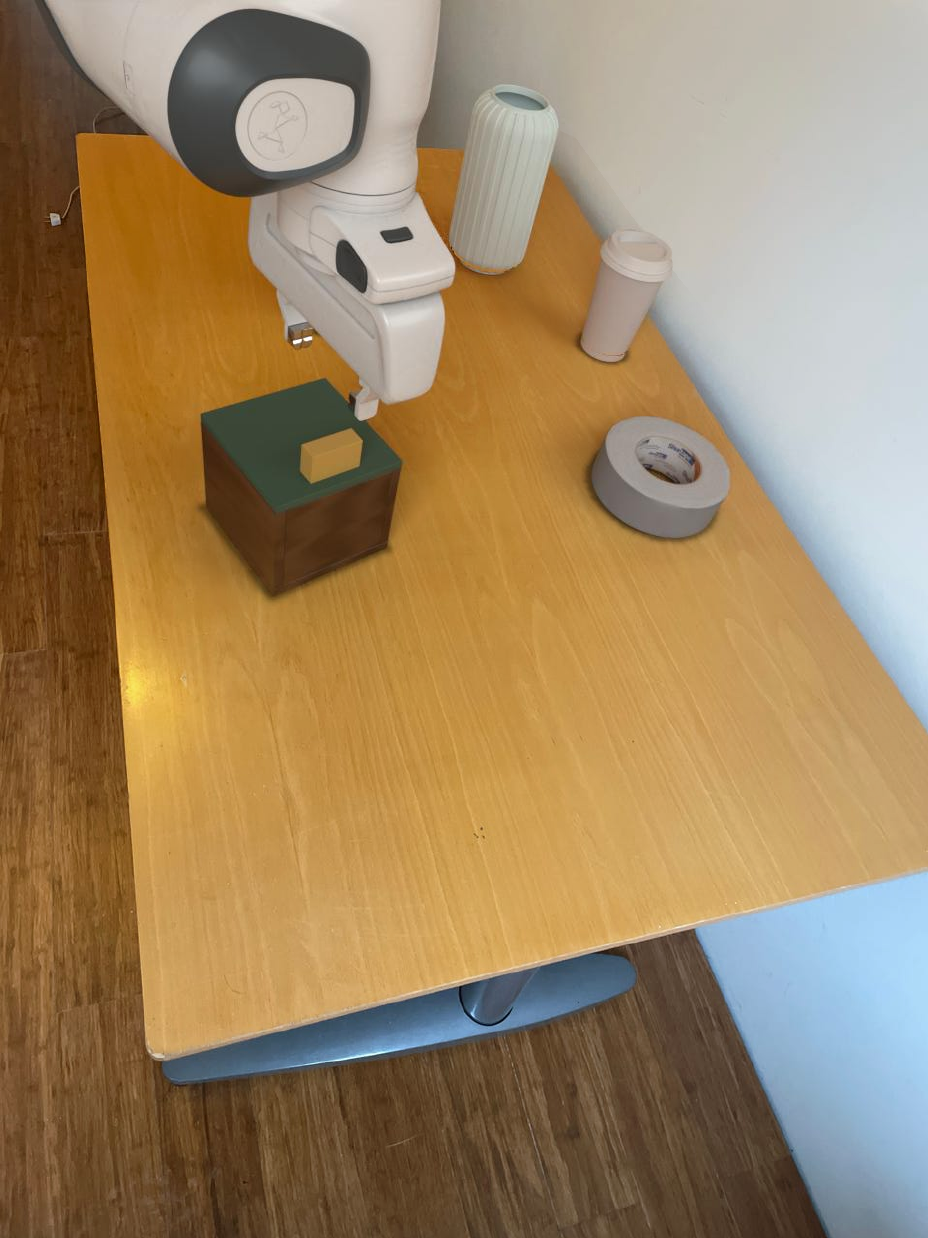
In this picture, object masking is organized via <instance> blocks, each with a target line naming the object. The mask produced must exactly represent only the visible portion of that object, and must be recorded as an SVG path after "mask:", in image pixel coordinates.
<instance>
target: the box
mask: <svg viewBox="0 0 928 1238" xmlns="http://www.w3.org/2000/svg"><path fill="white" fill-rule="evenodd" d="M200 432H201V433H200V434H201V449H202V463H203V476H204V477H203V479H204V493H205V508H206V509H207V511H208V512H209V513H210V515H211V516H212V518H213V519H214V520H215V521H216V523H217V524H218V526H220V528H221V529H222V530H223V532H224V533H225V535H226V536H227V537H228V538H229V540H230V541H231V542H232V544H233V545H234V546H235V548H236V549H237V550H238V552H239V553H240V555H241V556H242V557H243V559H244V560H245V561H246V562H247V564H248V566H249V567H251V569H252V570H253V572H254V573H255V574H256V575H257V577H258V579H260V581H261V582H262V583H263V585H264V586H265V587H266V589H267V590H268V591H269V593H270V594H271V595H272V597H275V596H278V595H280V594H283V593H285V592H287V591H290V590H293V589H295V588H296V587H299V586H302V585H304V584H306V583H308V582H311V581H313V580H316V579H317V578H320V577H323V576H325V575H327V574H329V573H332V572H333V571H337V570H338V569H341V568H343V567H346V566H348V565H350V564H353V563H355V562H357V561H359V560H361V559H365V558H366V557H368V556H371V555H374V554H377V553H378V552H380V551H383V550H385V549H387V546H388V541H389V535H390V530H391V525H392V520H393V515H394V514H393V513H394V509H395V503H396V498H397V493H398V489H399V488H398V487H399V482H400V477H401V471H402V467H401V468H398V469H396V470H393V471H390V472H388V473H385V474H382V475H380V476H377V477H374V478H371V479H369V480H366V481H363V482H361V483H358V484H355V485H353V486H350V487H347V488H345V489H342V490H339V491H337V492H334V493H331V494H329V495H326V496H323V497H321V498H318V499H315V500H313V501H310V502H307V503H305V504H302V505H299V506H296V507H294V508H291V509H288V510H286V511H283V512H280V513H278V514H276V513H275V512H274V511H273V510H272V508H271V507H270V506H269V505H268V503H267V502H266V501H265V500H264V498H263V497H262V496H261V495H260V493H259V492H258V491H257V490H256V488H255V487H254V486H253V485H252V483H251V482H250V481H249V480H248V478H247V477H246V476H245V475H244V474H243V472H242V471H241V470H240V469H239V467H238V466H237V465H236V464H235V462H234V461H233V460H232V459H231V457H230V456H229V455H228V454H227V452H226V451H225V450H224V449H223V447H222V446H221V445H220V444H219V442H218V441H217V440H216V439H215V437H214V436H213V435H212V434H211V432H210V431H209V430H208V429H207V427H206V426H205V425H204V424H203V423H202V421H201V420H200Z"/></svg>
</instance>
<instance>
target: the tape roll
mask: <svg viewBox="0 0 928 1238" xmlns="http://www.w3.org/2000/svg"><path fill="white" fill-rule="evenodd" d="M594 459H595V460H594V462H593V464H592V466H591V467H592V468H591V473H590V474H591V475H590V477H591V484H592V487H593V490H594V492H595V494H596V496H597V498H598V499H599V501H600V502H601V503H602V505H603V506H604V507H605V508H606V509H607V510H608V511H609V513H611V514H612V515H613V516H615V517H616V518H617V519H618V520H620V521H621V522H623V523H625V524H626V525H627V526H630V527H632V528H633V529H636V530H638V531H640V532H642V533H645V534H648V535H650V536H651V535H652V536H656V537H660V538H667V539H678V538H688V537H691V536H694V535H696V534H698V533H700V532H702V531H703V530H704V529H706V528H707V527H708V526H709V524H710V522H711V521H712V519H713V518H714V516H715V515H716V513H717V512H718V510H719V508H720V507H721V505H722V504H723V502H724V501H725V500H726V498H727V496H728V494H729V492H730V490H731V469H730V468H729V465H728V462H727V461H726V459H725V457H724V456H723V455H722V453H721V452H720V450H718V448H717V447H716V446H715V445H714V444H713V443H712V442H710V441H709V439H707V437H706V438H705V437H704V436H702V434H700V433H699V432H697V431H695V430H694V429H692V428H690V427H688V426H687V425H684V424H682V423H679V422H678V421H674V420H671V419H667V418H664V417H659V416H650V415H637V416H631V417H628V418H625V419H622V420H620V421H618V422H616V423H615V424H613V425H612V426H611V427H610V429H609V430H608V432H607V433H606V435H605V437H604V439H603V442H602V445H601V447H600V448H599V451H598V453H597V455H596V457H595V458H594ZM648 469H651V470H654V471H657V472H659V473H661V474H662V475H665V476H667V477H668V478H669V479H671V480H672V481H673V482H669V481H666V480H663V479H661V478H659V477H657V476H655V475H654V474H652V473H651V472H650V471H649V470H648Z"/></svg>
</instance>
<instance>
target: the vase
mask: <svg viewBox="0 0 928 1238" xmlns="http://www.w3.org/2000/svg"><path fill="white" fill-rule="evenodd" d="M559 125H560V123H559V119H558V115H557V112H556V111H555V109H554V107H553V106H552V105H551V104H550V101H549V100H548V99H547V97H545V96H544V95H543V94H541V93H539V92H537V91H536V90H533V89H532V88H528V87H525V86H522V85H517V84H509V83H503V84H497V85H495V86H492V87H491V88H489V89H488V90H485V91H484V92H482V93H481V94H480V95H479V97H478V98H477V99H476V101H475V103H474V105H473V108H472V112H471V117H470V122H469V127H468V133H467V139H466V144H465V148H464V155H463V158H462V163H461V164H462V165H461V168H460V169H461V170H460V175H459V180H458V185H457V191H456V195H455V196H456V197H455V201H454V207H453V211H452V217H451V222H450V227H449V233H448V243H449V246H450V245H451V246H452V249H451V251H452V250H453V251H455V252H456V253H457V255H458V256H459V257H461V258H462V259H464V261H465V262H469V263H471V264H472V265H473V266H479V267H481V268H483V269H485V268H487V269H491V270H500V271H501V270H504V269H511V268H512V267H515V268H517V267H518V266H519V265H520V264H521V262H523V260H524V257H525V255H526V253H527V249H528V245H529V241H530V238H531V233H532V231H533V226H534V222H535V219H536V216H537V211H538V207H539V204H540V200H541V197H542V193H543V189H544V186H545V182H546V179H547V175H548V171H549V167H550V164H551V160H552V157H553V152H554V149H555V145H556V141H557V137H558V134H559V128H560V126H559ZM453 251H452V252H453ZM460 263H461V264H462V265H463V266H465V267H466V268H467V269H469V270H471V271H473V272H476V273H479V274H481V275H488V276H489V275H492V276H493V275H501V274H504V273H505V272H504V271H502V272H501V273H497V272H493V273H490V272H488V271H481V270H479V269H474V268H472V267H470V266H469V265H468V266H467V265H466V264H465V263H464V262H463V261H460ZM518 264H519V265H518ZM469 267H470V268H469ZM510 271H511V270H509V271H508V272H510Z"/></svg>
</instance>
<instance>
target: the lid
mask: <svg viewBox="0 0 928 1238" xmlns="http://www.w3.org/2000/svg"><path fill="white" fill-rule="evenodd" d="M348 404H349V401H348V400H347V399H346V398H345V397H344V396H343V395H342V394H341V393H340V392H339V391H338V389H337V388H336V387H335V386H334V385H332V383H331V382H330V381H329V380H328V379H327V378H326V377H323V378H318V379H316V380H313V381H312V380H311V381H308V382H305V383H301V384H298V385H295V386H291V387H288V388H284V389H281V390H278V391H275V392H270V393H267V394H263V395H260V396H256V397H254V398H253V397H252V398H250V399H246V400H242V401H240V402H236V403H232V404H229V405H225V406H222V407H218V408H214V409H211V410H208V411H204V412H202V413H200V414H199V416H200V422H201V421H202V423H203V424H204V425H205V426H206V427H207V429H208V430H209V431H210V432H211V434H212V435H213V436H214V437H215V439H216V440H217V441H218V442H219V444H220V445H221V446H222V447H223V449H224V450H225V451H226V452H227V454H228V455H229V456H230V457H231V459H232V460H233V461H234V462H235V464H236V465H237V466H238V467H239V469H240V470H241V471H242V472H243V474H244V475H245V476H246V477H247V478H248V480H249V481H250V482H251V483H252V485H253V486H254V487H255V488H256V490H257V491H258V492H259V493H260V495H261V496H262V497H263V498H264V500H265V501H266V502H267V503H268V505H269V506H270V507H271V508H272V510H273V511H274V512H275V513H276V514H278V513H280V512H283V511H286V510H288V509H291V508H294V507H296V506H299V505H302V504H305V503H307V502H310V501H313V500H315V499H318V498H321V497H323V496H326V495H329V494H331V493H334V492H337V491H339V490H342V489H345V488H347V487H350V486H353V485H355V484H358V483H361V482H363V481H366V480H369V479H371V478H374V477H377V476H380V475H382V474H385V473H388V472H390V471H393V470H396V469H398V468H401V469H402V467H403V462H404V460H403V459H402V458H401V457H400V456H399V455H398V454H397V453H396V452H395V451H394V450H393V448H392V447H391V446H390V445H389V444H388V443H387V442H386V441H385V440H384V439H383V438H382V436H380V434H378V433H377V431H376V430H375V429H374V428H373V427H372V426H371V425H370V423H368V422H367V420H366V419H365V420H362V421H360V420H358V419H357V418H356V417H355V415H354V414H353V413H352V412H351V411H350V410H349V408H348Z"/></svg>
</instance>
